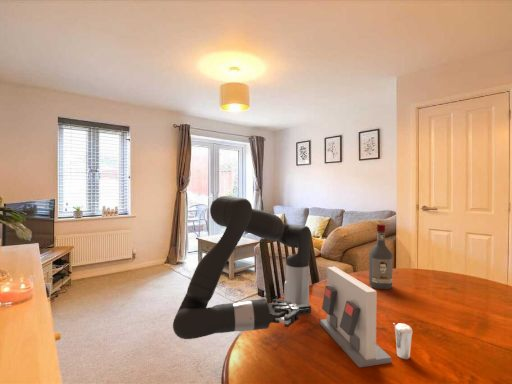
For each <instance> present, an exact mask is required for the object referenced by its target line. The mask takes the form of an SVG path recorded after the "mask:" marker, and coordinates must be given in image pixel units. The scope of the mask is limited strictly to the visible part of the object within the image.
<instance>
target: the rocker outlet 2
mask: <svg viewBox="0 0 512 384" xmlns="http://www.w3.org/2000/svg"><path fill="white" fill-rule="evenodd" d="M359 313H360V308H359V307H358V306H356V305H355V304H354V303H352V302H351V301H346V305H345V308H344V312H343V316H342V319H341V323H340V327H341V328H342V329H343V330H344V331H345V332H346V333H347V334H348V335H351V336H353V335H354V331H355V327H356V324H357V320H358V316H359Z"/></svg>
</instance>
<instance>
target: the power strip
mask: <svg viewBox="0 0 512 384" xmlns="http://www.w3.org/2000/svg"><path fill="white" fill-rule="evenodd" d="M326 280H327V281H326V286H331V287H332V288H333V289H335V290H336V291H337V294H336V300H335V306H334V312H333V315H328V314H327V313H326V318H323V319H319V325H320V326H321V327H322V328H323V330H325V332H327V334H328V335H329V336H330V337H331V338H332V340H334V342H335V343H336V344H337V345H338V346H339V347H340V348H341V349H342V350H343V351H344V353H345V354H346V355H347V356H348V357H349V358H350V359H351V360H352V362H353V363H355V365H356V366H357V367H358V368H365V367H372V366H378V365H384V364H390V363H392V356H390V355H389V354H388V353H387V352H386V351H385V350H383V349H382V347H380V346H379V345H378V343H377V300H378V299H377V296H378V295H377V294H378V293H377V290H375V288H374V289H373V287H370V286H368V285H367V284H365V283H364V282H362V281H360V280H358V279H356V278H355V277H354V276H352V275H350V274H348V273H347V272H345V271H344V270H342V269H340V268H338V267H337V266H327V267H326ZM346 301H351V302H352V303H354V304H355V305H356V306H358V307H359V308H360V313H359V316H358V320H357V324H356V327H355V331H354V335H353V336H351V335H348V334H347V333H346V332H345V331H344V330H343V329H342V328H341V327H340V323H341V319H342V316H343V312H344V308H345V305H346Z"/></svg>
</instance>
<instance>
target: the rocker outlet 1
mask: <svg viewBox="0 0 512 384" xmlns="http://www.w3.org/2000/svg"><path fill="white" fill-rule="evenodd" d="M336 294H337V291H336V290H335V289H333V288H332V287H331V286H327V285H325V289H324V294H323V300H322V301H323V302H322V305H321V309H322V310H323V311H324V312H325V313H326V315H327V314H328V315H333V312H334V306H335V300H336Z"/></svg>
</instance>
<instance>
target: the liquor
mask: <svg viewBox="0 0 512 384" xmlns="http://www.w3.org/2000/svg"><path fill="white" fill-rule="evenodd" d="M385 232H386V224H383V223H382V224H381V223H379V224H376V244H375V245H374V246H373V247H372V248H371V249H370V250H369V255H368V256H369V257H368V258H369V259H368V260H369V261H368V263H369V265H368V266H369V267H368V269H369V270H368V271H369V273H368V274H369V275H368V280H369V284H370V285H371V288H372V289H373V288H374V289H377V290H390V289H392V287H393V254H392V251H390V249H389V247H387V245H386V243H385V239H386V238H385V236H386V235H385Z"/></svg>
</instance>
